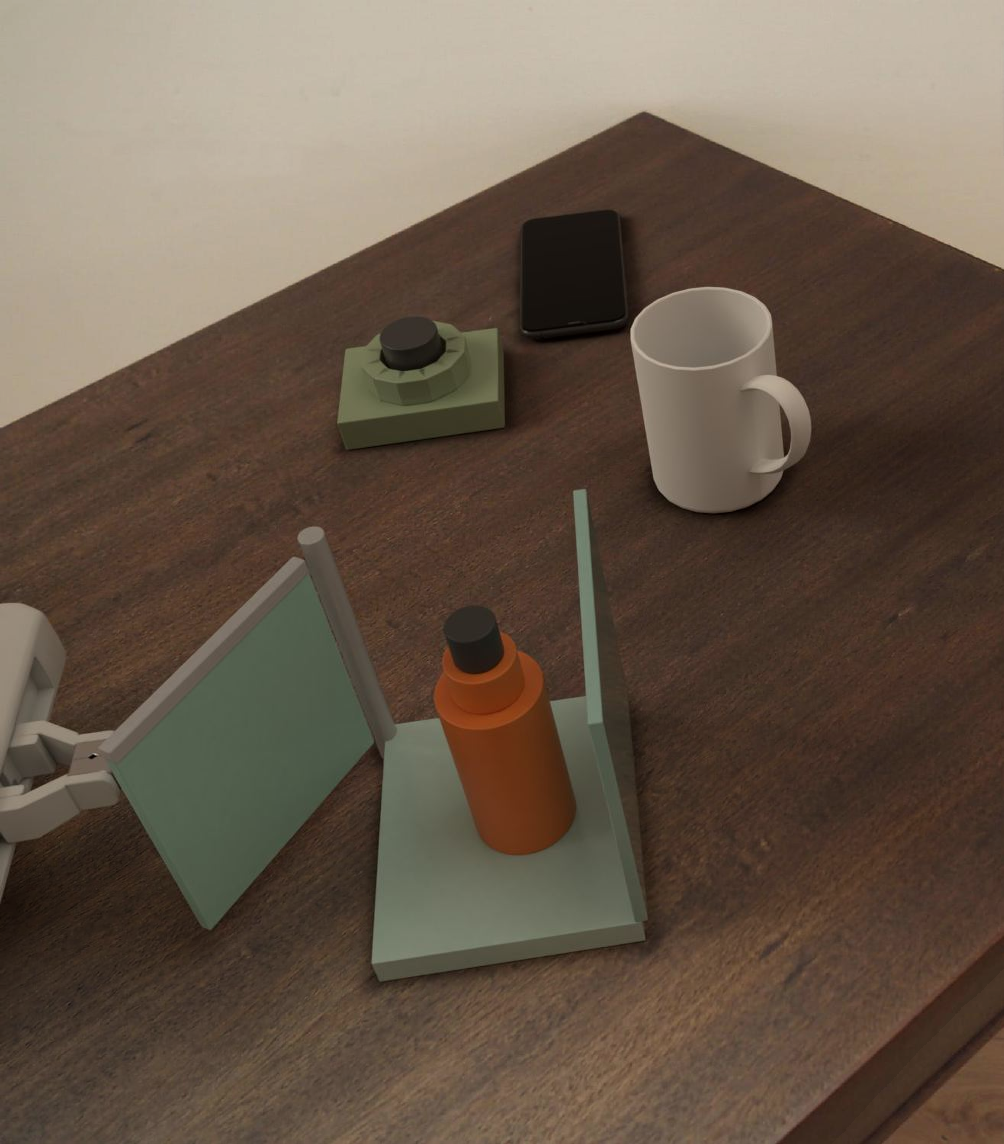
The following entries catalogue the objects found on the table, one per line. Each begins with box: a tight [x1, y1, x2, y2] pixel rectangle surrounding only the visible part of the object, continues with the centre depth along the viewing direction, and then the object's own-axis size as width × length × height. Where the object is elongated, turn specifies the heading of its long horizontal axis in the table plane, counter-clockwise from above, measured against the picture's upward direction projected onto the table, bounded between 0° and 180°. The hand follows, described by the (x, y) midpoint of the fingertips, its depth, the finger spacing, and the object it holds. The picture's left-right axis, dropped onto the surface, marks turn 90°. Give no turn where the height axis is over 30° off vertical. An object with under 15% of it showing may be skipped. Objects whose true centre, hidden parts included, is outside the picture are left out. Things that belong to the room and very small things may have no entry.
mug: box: [630, 286, 812, 514], centre depth 89 cm, size 12×8×10 cm, turn 41°
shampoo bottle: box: [433, 604, 576, 855], centre depth 70 cm, size 5×5×13 cm
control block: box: [336, 320, 506, 451], centre depth 100 cm, size 10×8×4 cm
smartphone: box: [518, 209, 630, 340], centre depth 110 cm, size 7×1×15 cm
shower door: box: [98, 556, 375, 931], centre depth 70 cm, size 2×12×12 cm, turn 152°
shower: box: [296, 488, 649, 983], centre depth 70 cm, size 13×14×15 cm
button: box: [379, 315, 443, 371], centre depth 98 cm, size 4×4×2 cm
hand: (120, 766), depth 69 cm, fingers closed
